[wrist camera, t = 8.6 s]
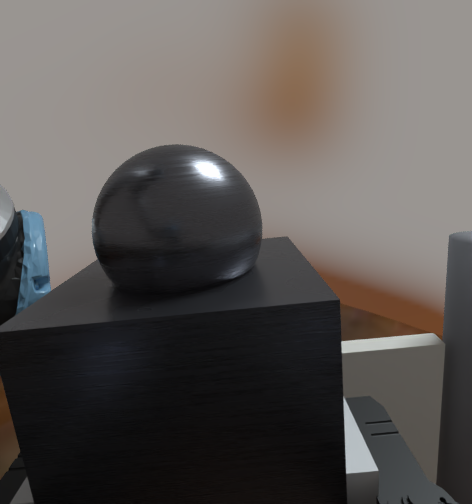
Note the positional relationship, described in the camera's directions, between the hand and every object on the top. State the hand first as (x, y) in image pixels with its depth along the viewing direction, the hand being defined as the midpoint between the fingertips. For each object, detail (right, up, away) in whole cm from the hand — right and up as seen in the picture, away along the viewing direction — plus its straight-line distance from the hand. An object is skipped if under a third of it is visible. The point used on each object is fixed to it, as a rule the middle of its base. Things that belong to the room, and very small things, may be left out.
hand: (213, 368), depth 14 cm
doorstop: (+1, -11, -2) cm, 11 cm away
